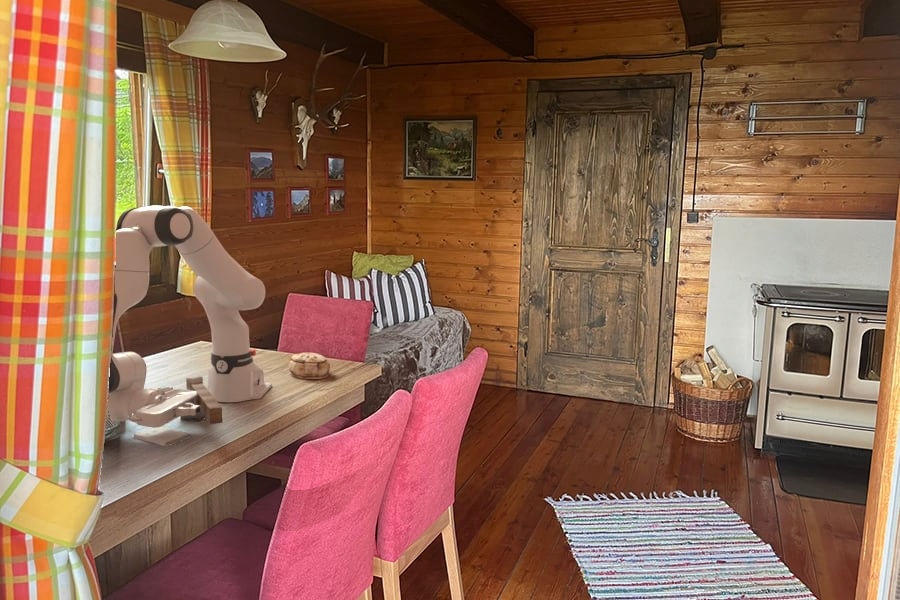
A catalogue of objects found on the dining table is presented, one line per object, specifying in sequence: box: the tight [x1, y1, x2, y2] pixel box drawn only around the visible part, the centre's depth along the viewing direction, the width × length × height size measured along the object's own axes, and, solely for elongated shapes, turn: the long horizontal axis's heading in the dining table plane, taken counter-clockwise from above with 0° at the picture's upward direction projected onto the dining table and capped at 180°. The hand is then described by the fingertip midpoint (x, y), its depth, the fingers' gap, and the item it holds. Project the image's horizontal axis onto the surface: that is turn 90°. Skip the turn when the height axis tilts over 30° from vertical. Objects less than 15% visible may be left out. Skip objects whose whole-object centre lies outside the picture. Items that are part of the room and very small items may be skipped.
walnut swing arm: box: [185, 375, 223, 425], centre depth 193 cm, size 30×4×5 cm, turn 30°
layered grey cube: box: [180, 412, 206, 422], centre depth 205 cm, size 6×6×6 cm
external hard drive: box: [133, 426, 192, 447], centre depth 189 cm, size 2×8×12 cm
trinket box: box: [287, 352, 331, 380], centre depth 251 cm, size 13×15×8 cm
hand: (198, 410), depth 184 cm, fingers closed
